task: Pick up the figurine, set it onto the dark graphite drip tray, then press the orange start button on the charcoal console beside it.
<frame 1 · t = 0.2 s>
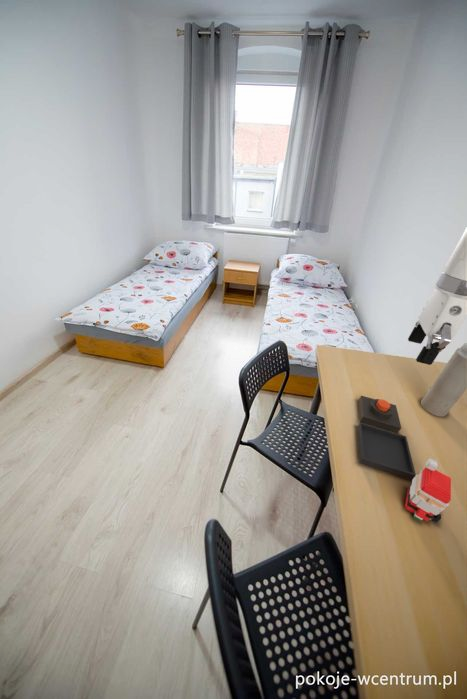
hand: (418, 351, 67), 29 cm above the table, tool pointing down, fingers open, 9 cm apart
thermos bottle: (433, 408, 95), on the table
figurine: (419, 506, 65), on the table
console: (376, 416, 88), on the table
drip tray: (382, 451, 77), on the table
start button: (383, 405, 86), point 5 cm above the table, slide at 0.1 cm
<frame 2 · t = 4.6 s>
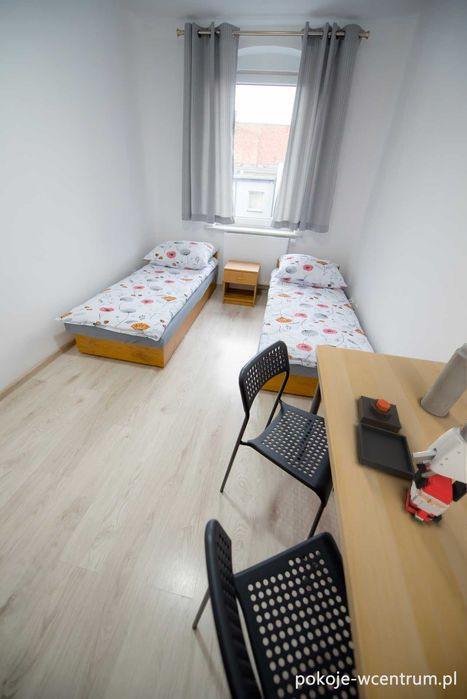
hand: (434, 488, 61), 8 cm above the table, tool pointing down, fingers closed on figurine, 6 cm apart
figurine: (419, 506, 65), on the table, touching gripper
everything else where it was.
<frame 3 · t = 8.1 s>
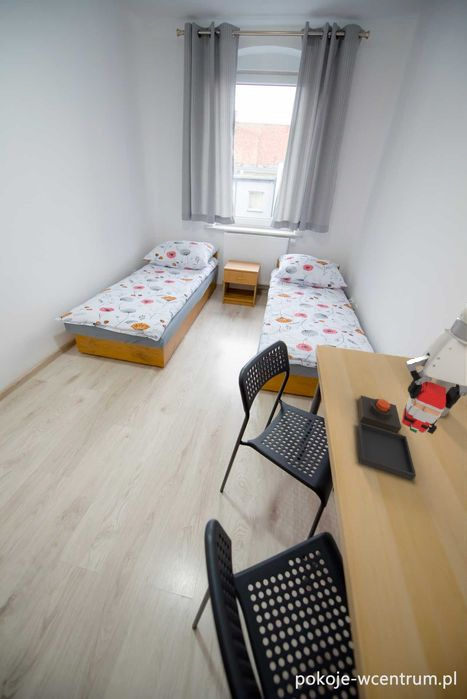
hand: (428, 399, 63), 23 cm above the table, tool pointing down, fingers closed on figurine, 6 cm apart
figurine: (415, 422, 67), point 15 cm above the table, touching gripper
everything else where it was.
when the fingers open (8 cm above the table, at t = 11.9 s): figurine stays where it is, resting on drip tray.
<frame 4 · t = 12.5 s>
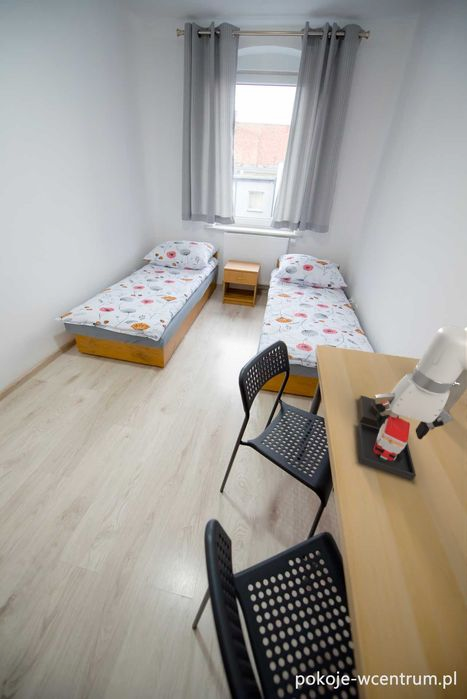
hand: (397, 429, 72), 10 cm above the table, tool pointing down, fingers open, 9 cm apart
figurine: (385, 450, 77), point 1 cm above the table, touching drip tray
everything else where it was.
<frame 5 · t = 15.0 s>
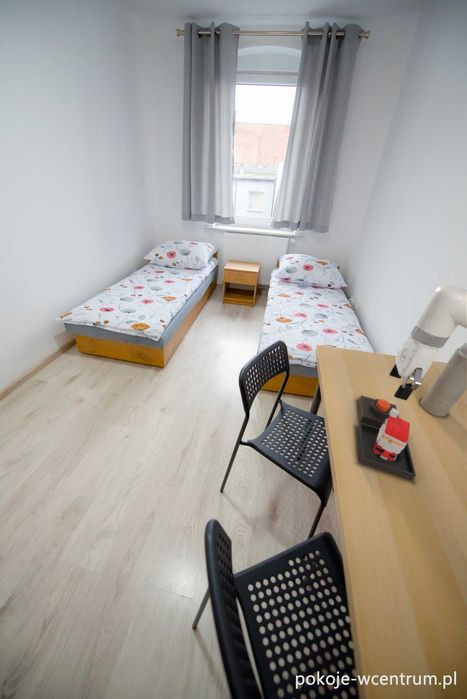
hand: (397, 386, 78), 15 cm above the table, tool pointing down, fingers open, 9 cm apart
nothing on the table moved.
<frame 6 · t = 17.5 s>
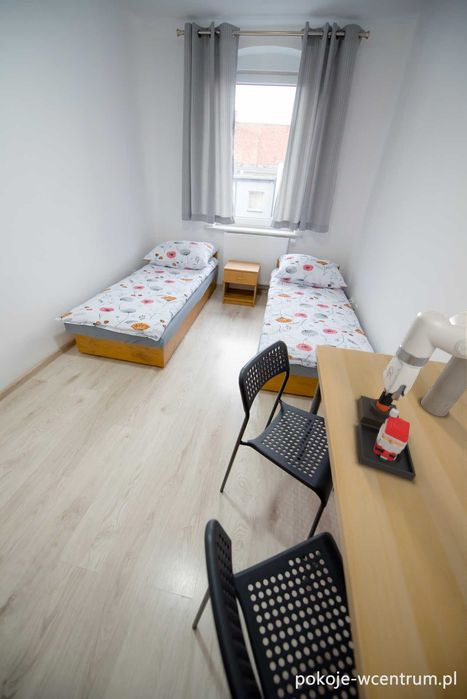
hand: (383, 403, 85), 6 cm above the table, tool pointing down, fingers closed
start button: (383, 405, 86), point 5 cm above the table, slide at 0.1 cm, touching gripper
everything else where it was.
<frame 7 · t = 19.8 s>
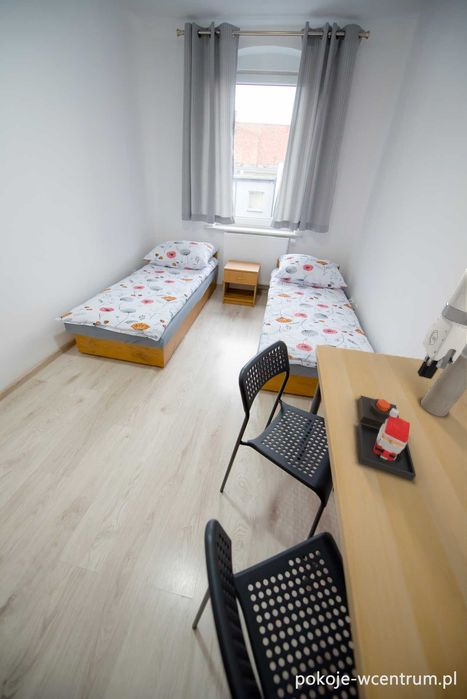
hand: (424, 375, 74), 20 cm above the table, tool pointing down, fingers closed
start button: (383, 405, 86), point 5 cm above the table, slide at 0.1 cm
everything else where it was.
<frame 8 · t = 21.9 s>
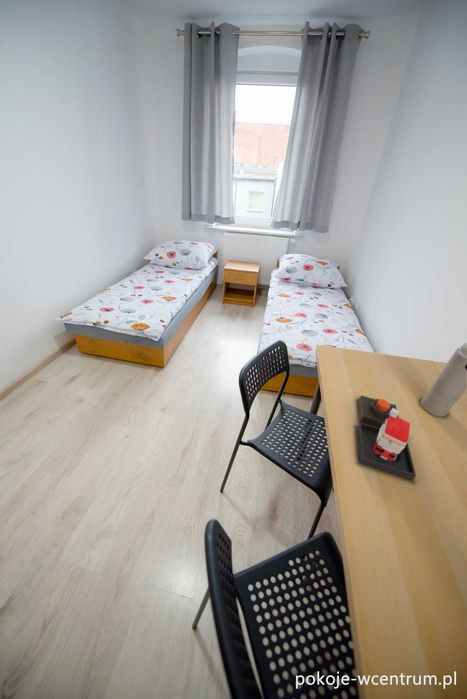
nothing on the table moved.
at the end: figurine 0.8 cm off-centre in the drip tray, point 0.6 cm above the drip tray's base; start button pushed in 1.1 cm at the most during the clip, back to where it started at the end; start button slide at 0.1 cm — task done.
